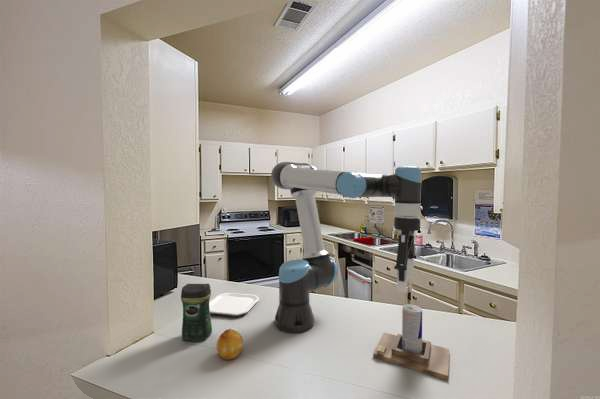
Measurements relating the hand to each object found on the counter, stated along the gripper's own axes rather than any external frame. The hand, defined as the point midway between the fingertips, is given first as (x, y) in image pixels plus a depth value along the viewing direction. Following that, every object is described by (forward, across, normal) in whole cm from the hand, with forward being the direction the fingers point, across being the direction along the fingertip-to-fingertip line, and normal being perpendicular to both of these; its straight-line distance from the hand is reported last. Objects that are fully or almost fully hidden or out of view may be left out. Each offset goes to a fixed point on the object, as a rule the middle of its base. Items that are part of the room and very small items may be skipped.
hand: (405, 284), depth 83 cm
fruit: (+22, -29, +47) cm, 59 cm away
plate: (+23, -3, +72) cm, 75 cm away
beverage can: (+22, -1, -2) cm, 22 cm away
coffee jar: (+23, -27, +65) cm, 74 cm away
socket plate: (+21, -1, -2) cm, 22 cm away
